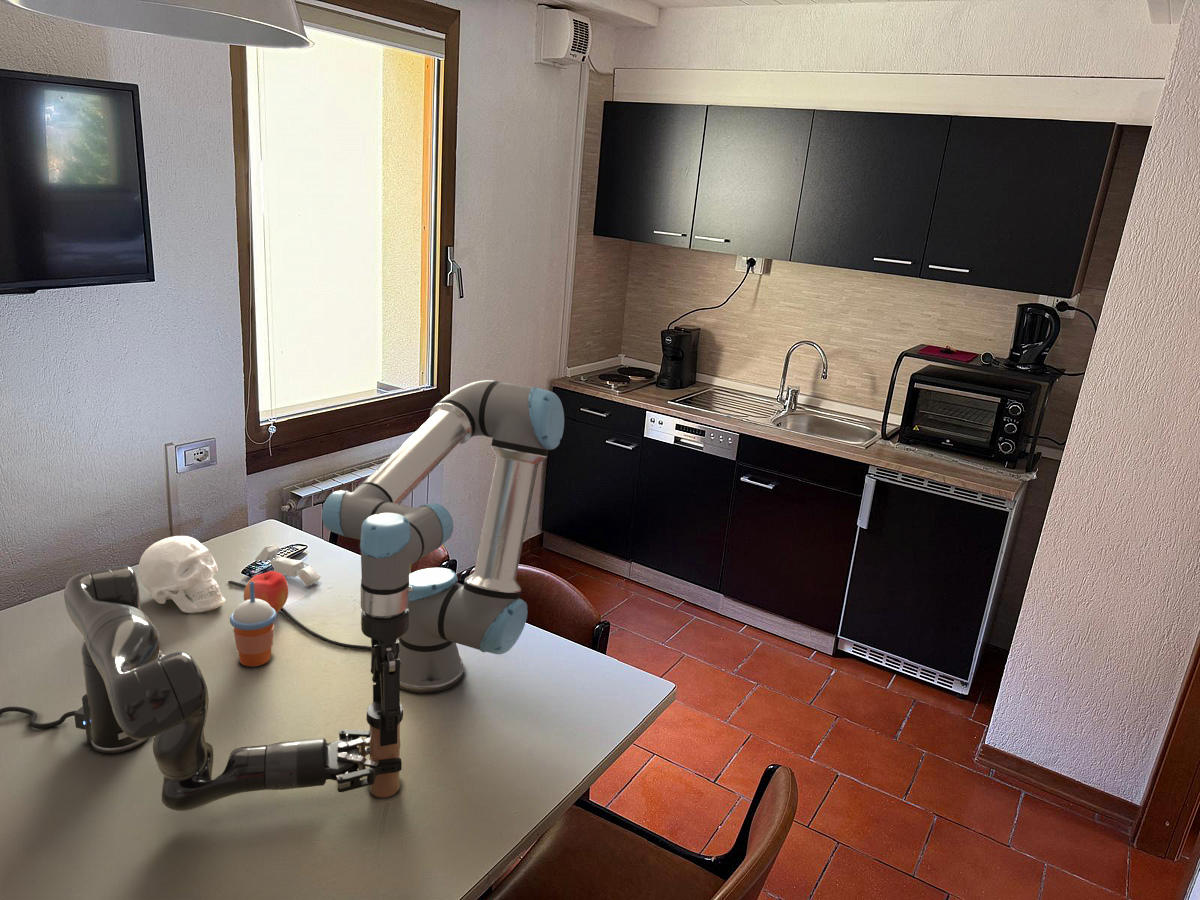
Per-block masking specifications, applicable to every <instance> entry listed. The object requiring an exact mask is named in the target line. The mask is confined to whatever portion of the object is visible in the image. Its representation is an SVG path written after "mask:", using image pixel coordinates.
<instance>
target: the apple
mask: <svg viewBox="0 0 1200 900" xmlns="http://www.w3.org/2000/svg"><path fill="white" fill-rule="evenodd" d="M250 582H254V592H255V599H261V600H264V601H266V602H267V603H268V604H269V605H270V606H271V607H272V608H273V609H274V610H275V611H276V614H278V613H279V612H281V611H280V610H281V608H282V607H283V608H284V606H285V605H286V603H287V600H288V597H289V584H288V581H287V579H286V577H285V575H282V574H281V573H278V572H275V571H268V570H267V571H266V572H264V573H259V574H255V575H254V576H253V577H251V578H250V579H249V580H248V582H247V583H246V584H245V585H246V587H245V588H244V590H243V602H244V601H246V600H249V599H250V584H249V583H250Z"/></svg>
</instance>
